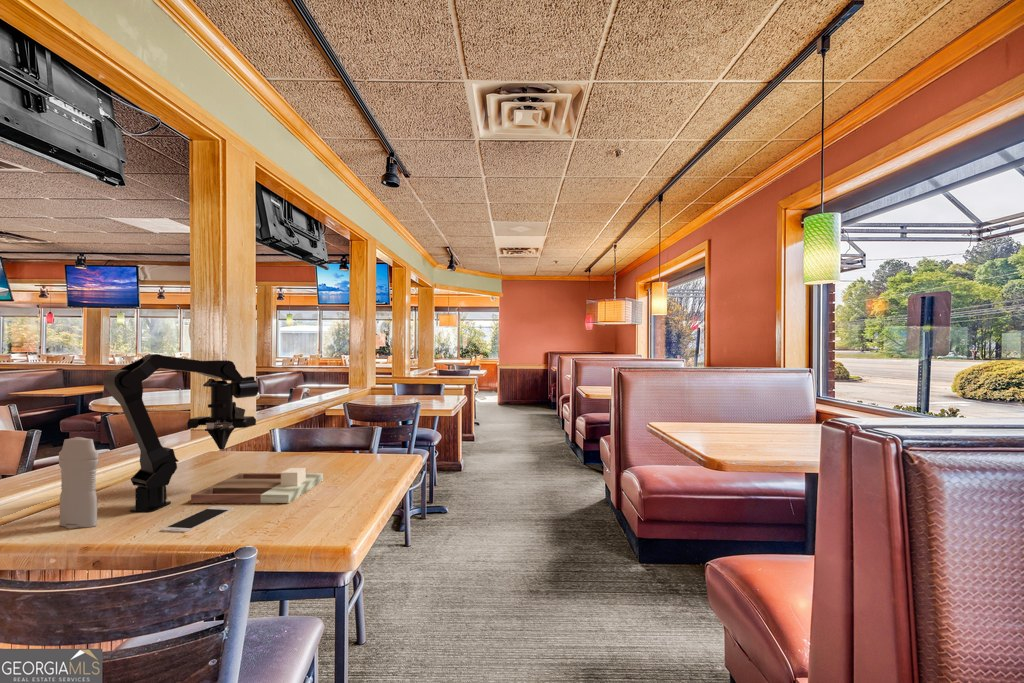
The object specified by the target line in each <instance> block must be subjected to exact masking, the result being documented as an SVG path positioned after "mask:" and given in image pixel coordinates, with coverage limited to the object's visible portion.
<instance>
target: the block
mask: <svg viewBox="0 0 1024 683" xmlns="http://www.w3.org/2000/svg"><path fill="white" fill-rule="evenodd" d="M306 469H307V468H306V467H289V468H287V469H285V470H283V471H281V472H280V473H281V486H298V485H300V484H301V483H303V482H305V481H306V473H307V472H306V471H307V470H306Z"/></svg>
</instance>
